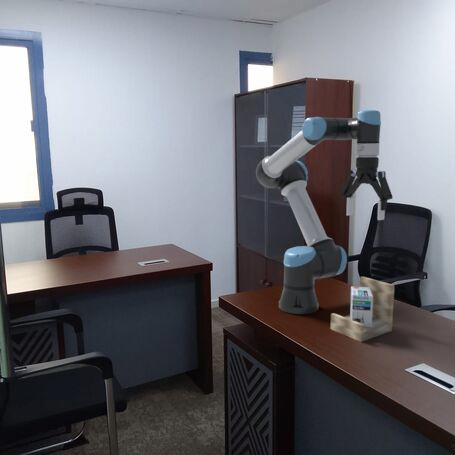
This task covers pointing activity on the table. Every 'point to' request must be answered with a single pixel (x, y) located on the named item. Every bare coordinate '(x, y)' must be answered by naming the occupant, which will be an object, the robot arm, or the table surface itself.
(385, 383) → the table surface
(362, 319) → the light bulb box
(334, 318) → the board
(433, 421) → the table surface
